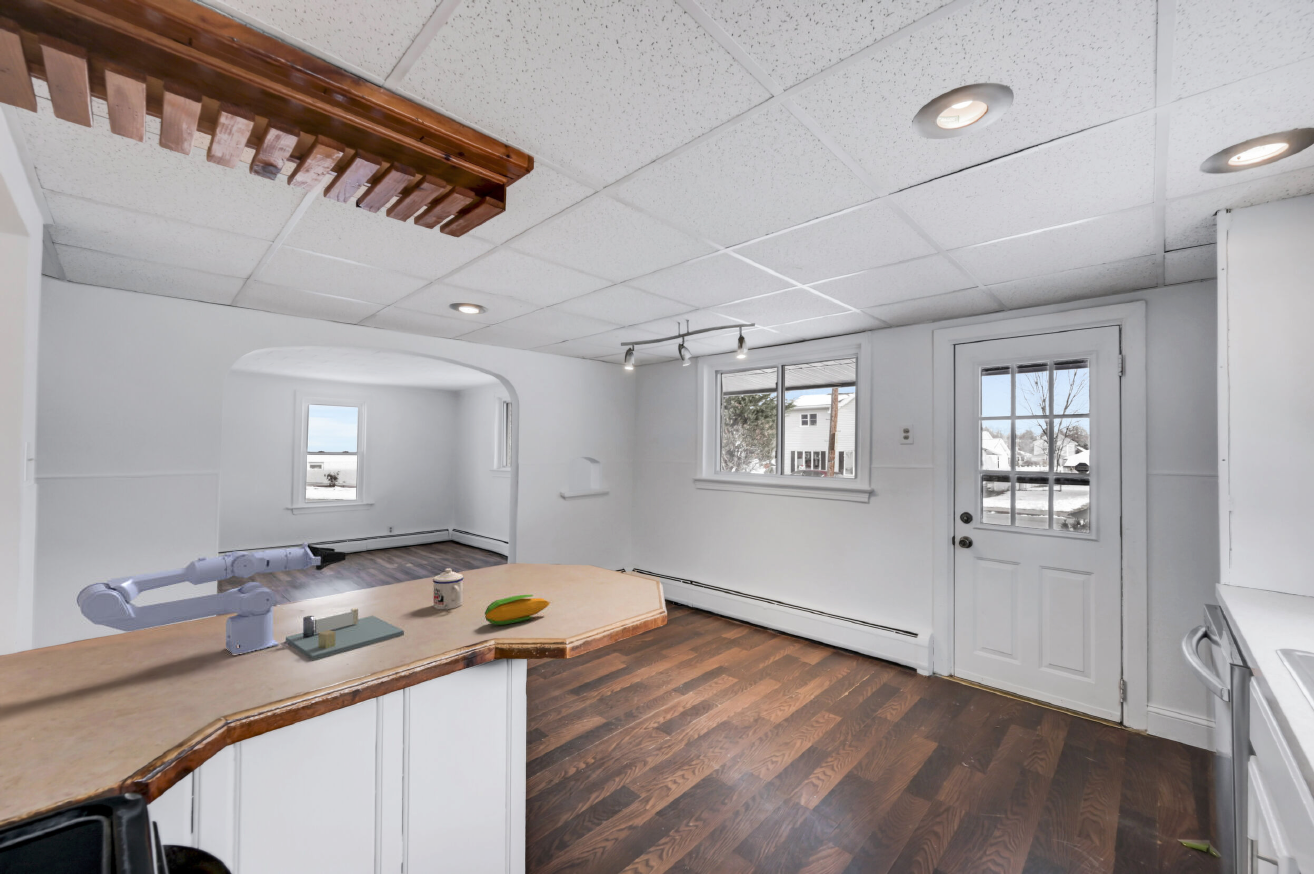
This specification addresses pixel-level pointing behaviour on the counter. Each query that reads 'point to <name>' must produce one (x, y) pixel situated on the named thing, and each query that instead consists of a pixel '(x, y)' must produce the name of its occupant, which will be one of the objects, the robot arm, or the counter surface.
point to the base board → (347, 638)
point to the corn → (514, 609)
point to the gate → (336, 620)
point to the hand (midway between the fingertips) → (339, 554)
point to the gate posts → (324, 638)
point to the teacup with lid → (448, 590)
